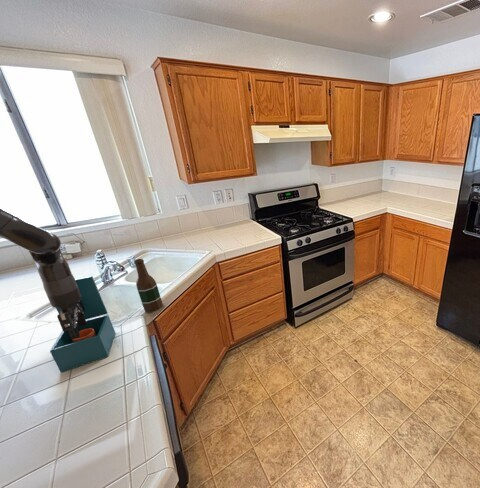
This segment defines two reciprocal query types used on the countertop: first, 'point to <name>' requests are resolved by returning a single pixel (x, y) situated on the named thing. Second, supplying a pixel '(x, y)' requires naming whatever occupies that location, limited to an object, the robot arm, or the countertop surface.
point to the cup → (85, 334)
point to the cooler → (84, 345)
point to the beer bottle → (147, 288)
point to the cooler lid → (90, 298)
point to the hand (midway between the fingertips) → (79, 331)
